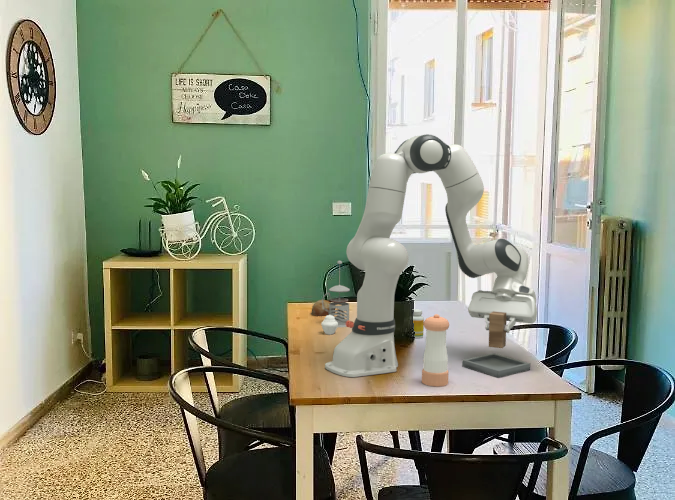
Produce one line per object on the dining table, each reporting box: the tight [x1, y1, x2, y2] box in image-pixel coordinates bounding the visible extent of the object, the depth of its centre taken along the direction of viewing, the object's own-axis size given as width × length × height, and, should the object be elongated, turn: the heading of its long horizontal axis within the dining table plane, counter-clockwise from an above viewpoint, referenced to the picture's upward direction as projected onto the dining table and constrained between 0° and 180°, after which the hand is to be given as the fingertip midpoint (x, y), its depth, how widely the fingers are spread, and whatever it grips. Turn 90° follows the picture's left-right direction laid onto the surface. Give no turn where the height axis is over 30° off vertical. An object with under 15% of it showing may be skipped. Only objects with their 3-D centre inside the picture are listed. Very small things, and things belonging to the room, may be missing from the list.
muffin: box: [320, 315, 338, 335], centre depth 238 cm, size 6×6×7 cm
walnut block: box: [488, 311, 507, 349], centre depth 195 cm, size 4×4×10 cm
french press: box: [321, 260, 350, 328], centre depth 252 cm, size 10×12×25 cm
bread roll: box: [310, 299, 337, 317], centre depth 272 cm, size 10×10×8 cm
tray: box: [461, 352, 531, 379], centre depth 196 cm, size 14×14×2 cm
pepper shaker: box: [421, 313, 450, 387], centre depth 180 cm, size 7×7×19 cm
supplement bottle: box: [413, 308, 425, 339], centre depth 234 cm, size 5×5×10 cm
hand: (497, 330), depth 194 cm, fingers closed on walnut block, 4 cm apart
